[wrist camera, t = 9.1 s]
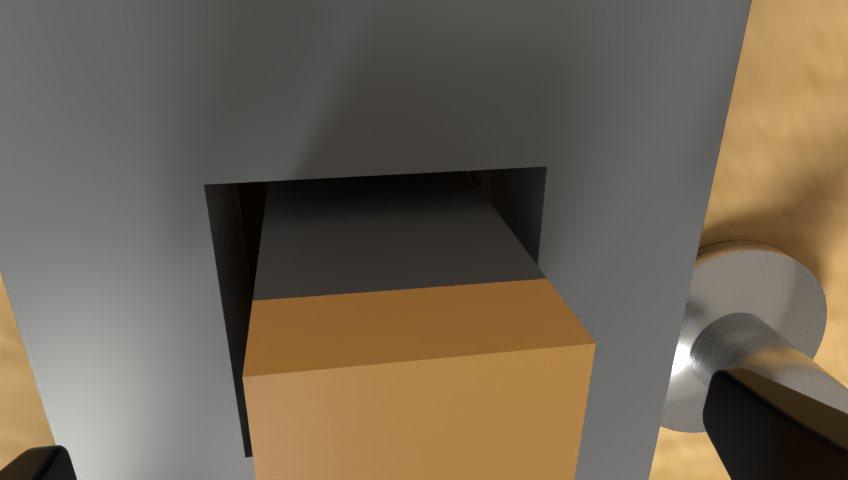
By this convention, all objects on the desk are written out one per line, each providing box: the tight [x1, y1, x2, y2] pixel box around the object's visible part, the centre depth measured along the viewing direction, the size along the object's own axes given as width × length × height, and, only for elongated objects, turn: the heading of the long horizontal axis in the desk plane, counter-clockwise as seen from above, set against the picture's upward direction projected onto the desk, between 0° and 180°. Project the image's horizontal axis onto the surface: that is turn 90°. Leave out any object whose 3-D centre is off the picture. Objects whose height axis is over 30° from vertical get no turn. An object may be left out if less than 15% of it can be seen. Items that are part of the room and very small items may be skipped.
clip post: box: [660, 240, 848, 433], centre depth 16 cm, size 6×6×5 cm
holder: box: [0, 0, 752, 480], centre depth 13 cm, size 12×12×4 cm
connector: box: [243, 171, 596, 480], centre depth 11 cm, size 4×4×8 cm
